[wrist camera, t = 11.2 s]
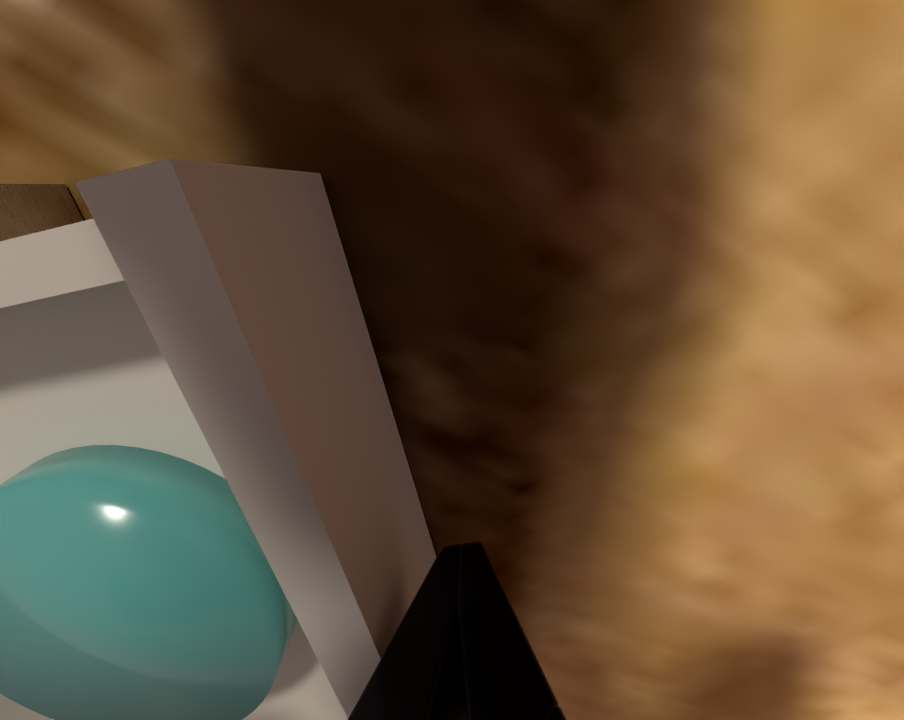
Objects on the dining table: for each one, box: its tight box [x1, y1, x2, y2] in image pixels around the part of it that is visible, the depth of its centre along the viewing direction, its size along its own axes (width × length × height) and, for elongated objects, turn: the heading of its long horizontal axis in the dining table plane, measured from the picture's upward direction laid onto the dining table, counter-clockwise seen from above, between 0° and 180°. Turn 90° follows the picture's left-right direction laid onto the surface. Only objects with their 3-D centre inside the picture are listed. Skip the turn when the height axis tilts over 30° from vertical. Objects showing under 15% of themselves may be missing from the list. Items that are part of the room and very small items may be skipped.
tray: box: [0, 158, 436, 720], centre depth 9 cm, size 12×15×4 cm
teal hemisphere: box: [0, 445, 298, 720], centre depth 9 cm, size 7×7×2 cm
